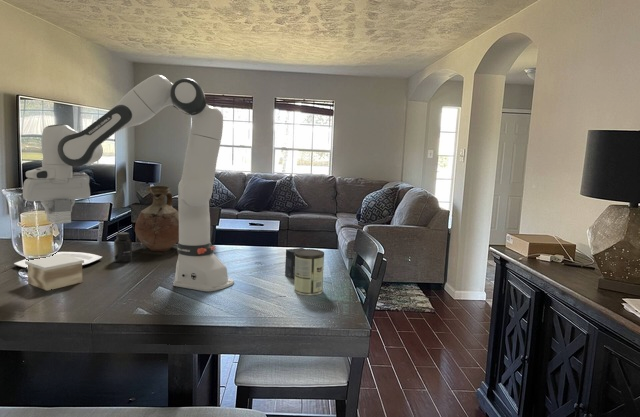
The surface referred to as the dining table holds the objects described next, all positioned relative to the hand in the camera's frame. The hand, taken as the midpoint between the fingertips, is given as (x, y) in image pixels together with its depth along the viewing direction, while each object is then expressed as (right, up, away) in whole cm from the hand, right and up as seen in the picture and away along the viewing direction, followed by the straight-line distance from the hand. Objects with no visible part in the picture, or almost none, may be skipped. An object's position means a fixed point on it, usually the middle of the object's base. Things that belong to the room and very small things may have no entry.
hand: (58, 212), depth 150 cm
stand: (-2, -25, +2) cm, 25 cm away
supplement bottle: (+7, -21, +34) cm, 40 cm away
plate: (-15, -21, +26) cm, 37 cm away
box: (+81, -25, +23) cm, 88 cm away
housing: (0, -3, 0) cm, 3 cm away
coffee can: (+86, -28, +4) cm, 90 cm away
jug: (+14, -18, +58) cm, 62 cm away
